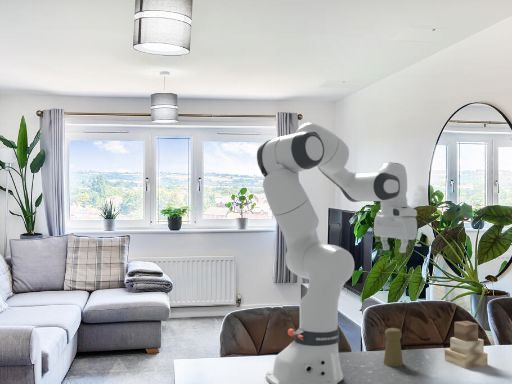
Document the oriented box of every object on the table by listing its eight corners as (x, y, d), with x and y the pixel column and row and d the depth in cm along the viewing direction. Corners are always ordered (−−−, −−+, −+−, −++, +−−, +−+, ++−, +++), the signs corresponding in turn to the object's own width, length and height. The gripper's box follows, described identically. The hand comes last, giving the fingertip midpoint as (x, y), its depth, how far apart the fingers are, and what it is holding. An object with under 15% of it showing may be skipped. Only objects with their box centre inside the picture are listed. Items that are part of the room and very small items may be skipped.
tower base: (464, 369, 169) (464, 356, 169) (444, 361, 177) (444, 349, 178) (487, 366, 172) (487, 353, 173) (466, 358, 181) (466, 346, 181)
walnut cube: (465, 341, 172) (465, 325, 172) (454, 337, 176) (454, 321, 176) (478, 340, 173) (478, 324, 173) (466, 336, 178) (466, 320, 178)
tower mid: (468, 355, 170) (468, 342, 170) (450, 350, 176) (450, 337, 176) (483, 352, 173) (483, 339, 174) (465, 347, 180) (465, 335, 180)
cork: (405, 366, 171) (405, 331, 171) (385, 366, 171) (385, 331, 171) (400, 360, 177) (400, 326, 177) (381, 360, 177) (381, 326, 177)
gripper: (369, 210, 196) (369, 248, 196) (404, 211, 177) (404, 254, 177) (384, 209, 198) (384, 248, 198) (420, 211, 179) (420, 253, 179)
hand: (394, 251), depth 187 cm, fingers open, 8 cm apart
